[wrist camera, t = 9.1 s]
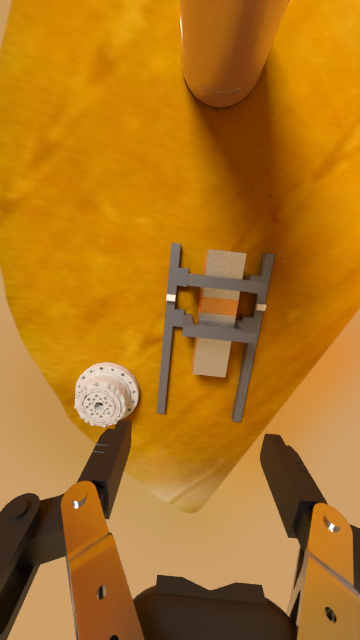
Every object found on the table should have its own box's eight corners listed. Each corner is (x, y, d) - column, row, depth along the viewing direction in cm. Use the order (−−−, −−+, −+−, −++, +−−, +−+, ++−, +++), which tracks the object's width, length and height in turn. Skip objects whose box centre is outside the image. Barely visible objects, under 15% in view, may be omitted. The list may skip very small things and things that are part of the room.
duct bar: (205, 252, 28) (208, 249, 24) (237, 255, 28) (246, 253, 24) (191, 359, 32) (192, 374, 28) (220, 362, 32) (225, 377, 28)
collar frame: (172, 244, 28) (167, 236, 21) (271, 254, 28) (299, 250, 21) (157, 408, 34) (150, 442, 27) (239, 417, 34) (251, 453, 27)
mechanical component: (117, 425, 35) (152, 386, 33) (107, 446, 31) (147, 403, 29) (68, 392, 34) (101, 349, 32) (51, 409, 30) (89, 361, 28)
